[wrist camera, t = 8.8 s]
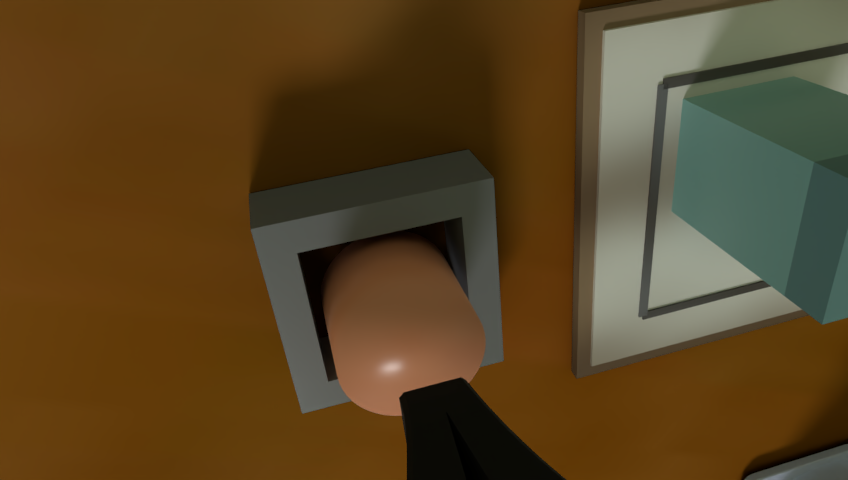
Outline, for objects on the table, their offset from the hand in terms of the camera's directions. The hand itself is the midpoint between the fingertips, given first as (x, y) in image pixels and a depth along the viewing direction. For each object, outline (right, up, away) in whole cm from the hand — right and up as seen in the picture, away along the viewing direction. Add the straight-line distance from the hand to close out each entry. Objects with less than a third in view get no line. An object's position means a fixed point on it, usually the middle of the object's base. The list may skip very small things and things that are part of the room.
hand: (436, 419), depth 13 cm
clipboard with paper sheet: (+11, +6, +8) cm, 15 cm away
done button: (-1, +2, +4) cm, 5 cm away
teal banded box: (+9, +7, +6) cm, 13 cm away
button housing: (-2, +3, +5) cm, 6 cm away
